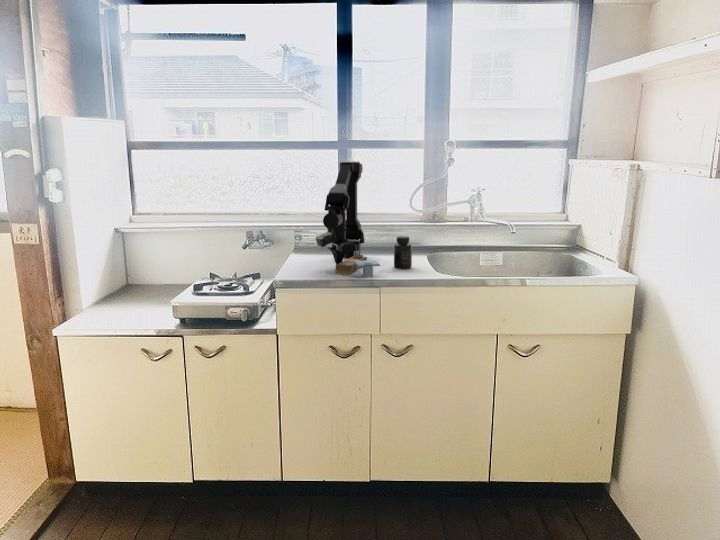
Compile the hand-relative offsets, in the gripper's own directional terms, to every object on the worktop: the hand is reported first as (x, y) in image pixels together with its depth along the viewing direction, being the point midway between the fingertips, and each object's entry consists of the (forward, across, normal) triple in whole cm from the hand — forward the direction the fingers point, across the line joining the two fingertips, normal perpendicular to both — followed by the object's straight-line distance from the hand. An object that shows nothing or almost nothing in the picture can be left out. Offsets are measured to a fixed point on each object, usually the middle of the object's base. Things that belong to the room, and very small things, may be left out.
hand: (337, 266), depth 199 cm
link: (+1, +1, +5) cm, 6 cm away
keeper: (+1, +12, +5) cm, 13 cm away
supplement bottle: (+1, +9, +23) cm, 25 cm away
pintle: (+1, -4, +10) cm, 11 cm away
